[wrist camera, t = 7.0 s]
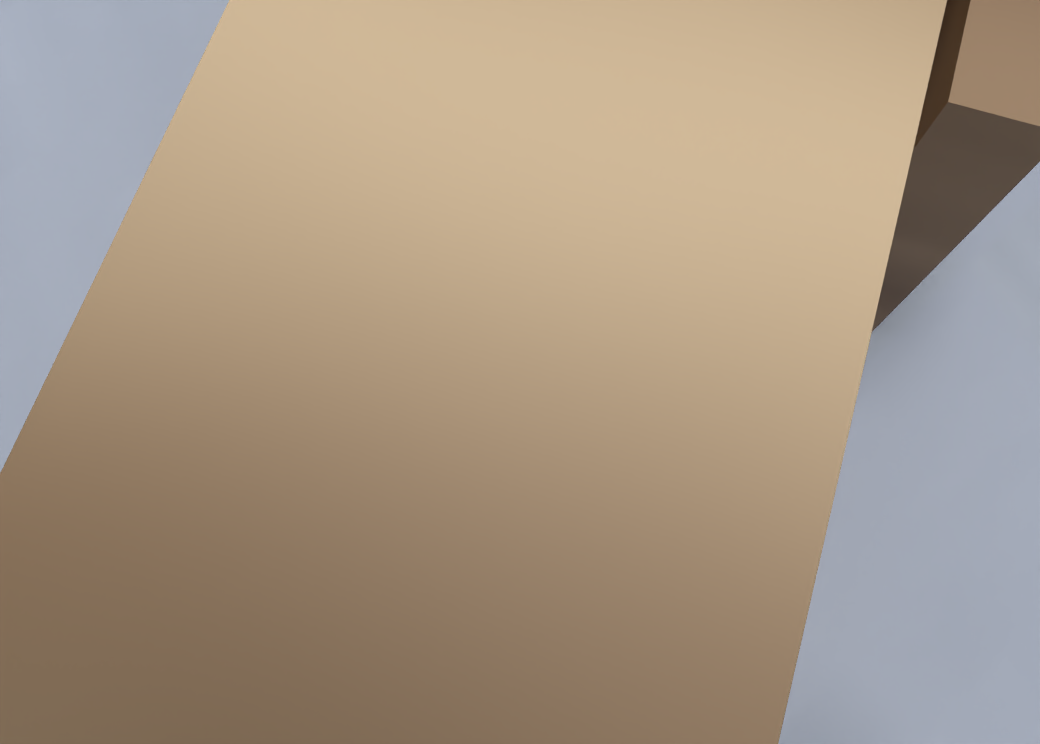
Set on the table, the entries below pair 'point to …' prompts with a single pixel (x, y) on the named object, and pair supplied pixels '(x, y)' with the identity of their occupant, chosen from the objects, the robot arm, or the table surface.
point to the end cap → (967, 135)
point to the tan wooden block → (465, 378)
